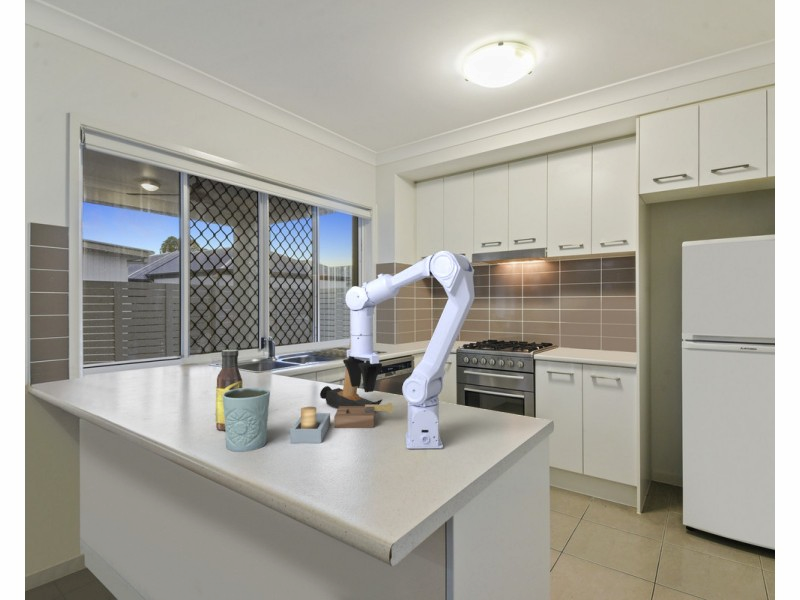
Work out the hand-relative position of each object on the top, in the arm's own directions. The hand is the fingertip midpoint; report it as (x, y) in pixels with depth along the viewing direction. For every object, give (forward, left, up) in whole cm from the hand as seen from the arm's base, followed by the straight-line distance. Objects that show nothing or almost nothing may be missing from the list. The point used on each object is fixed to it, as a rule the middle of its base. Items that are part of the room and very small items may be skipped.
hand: (362, 388), depth 105 cm
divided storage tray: (-2, +12, -10) cm, 16 cm away
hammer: (+21, +5, -11) cm, 24 cm away
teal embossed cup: (-10, +25, -11) cm, 29 cm away
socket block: (+7, +2, -10) cm, 12 cm away
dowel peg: (-6, +12, -10) cm, 17 cm away
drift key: (+7, -4, -7) cm, 11 cm away
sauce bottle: (+3, +34, -11) cm, 36 cm away
